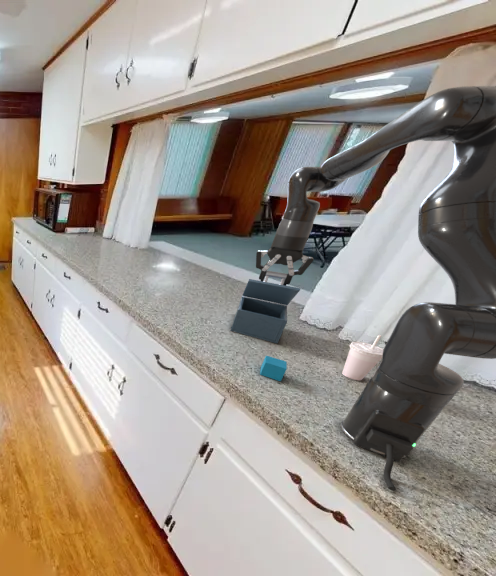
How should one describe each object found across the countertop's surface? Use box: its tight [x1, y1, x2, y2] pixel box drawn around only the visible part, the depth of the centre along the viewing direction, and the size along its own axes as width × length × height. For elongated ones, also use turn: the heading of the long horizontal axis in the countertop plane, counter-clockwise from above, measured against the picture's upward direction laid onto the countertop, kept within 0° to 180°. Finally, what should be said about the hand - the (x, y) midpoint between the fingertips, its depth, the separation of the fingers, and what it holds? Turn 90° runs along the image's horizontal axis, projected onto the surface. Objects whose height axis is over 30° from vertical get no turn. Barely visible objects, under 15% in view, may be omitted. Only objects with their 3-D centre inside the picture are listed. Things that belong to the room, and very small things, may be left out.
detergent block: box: [259, 355, 288, 382], centre depth 84 cm, size 4×4×4 cm
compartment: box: [230, 296, 288, 344], centre depth 106 cm, size 15×13×9 cm
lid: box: [241, 270, 301, 306], centre depth 103 cm, size 15×13×6 cm
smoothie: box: [341, 334, 384, 381], centre depth 81 cm, size 6×6×14 cm
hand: (273, 282), depth 100 cm, fingers closed on lid, 5 cm apart
